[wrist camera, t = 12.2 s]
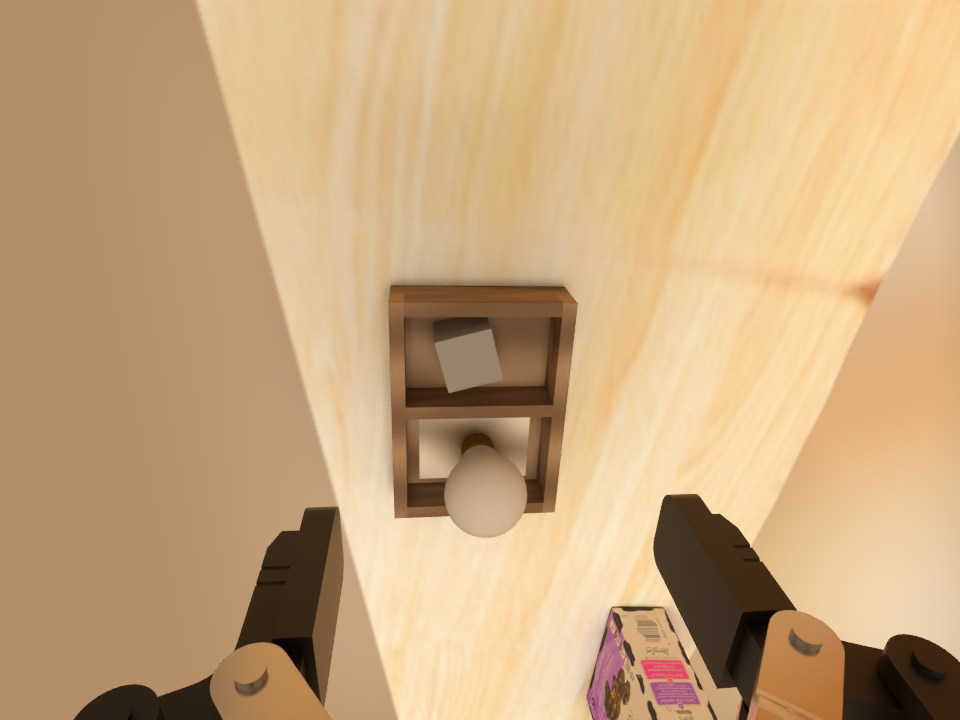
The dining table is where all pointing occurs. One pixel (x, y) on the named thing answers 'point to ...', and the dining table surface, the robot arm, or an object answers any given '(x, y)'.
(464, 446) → the light bulb
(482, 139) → the dining table surface
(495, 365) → the grey cube
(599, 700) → the candy box
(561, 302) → the box
